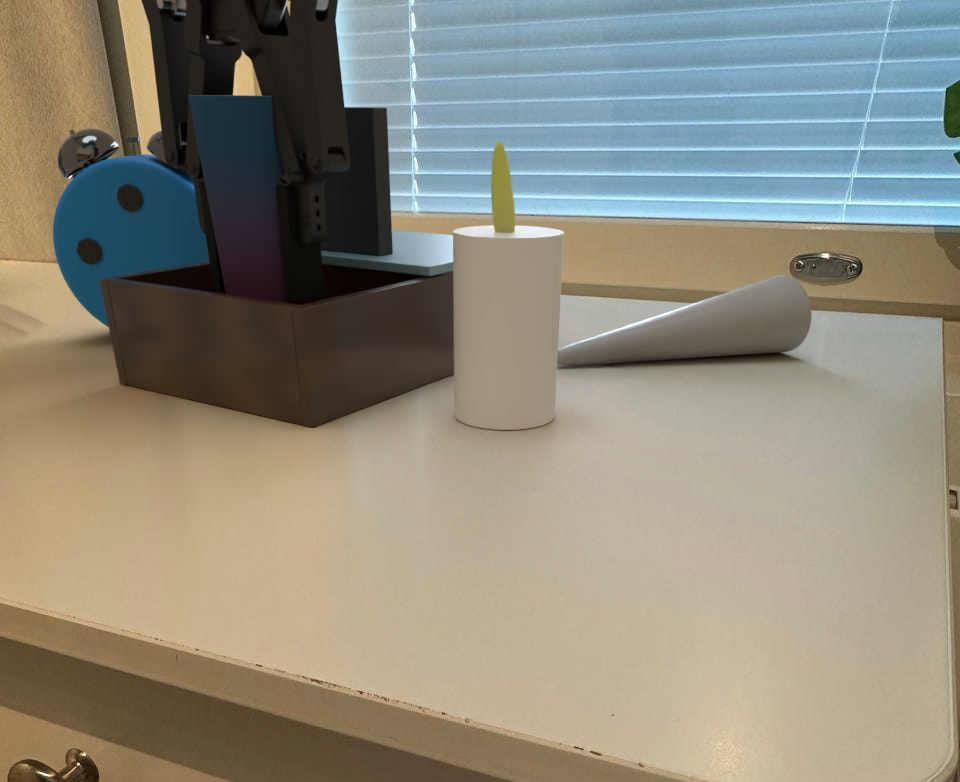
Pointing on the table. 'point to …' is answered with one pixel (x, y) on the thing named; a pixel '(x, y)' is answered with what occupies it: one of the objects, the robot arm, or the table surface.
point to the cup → (243, 191)
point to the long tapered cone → (708, 328)
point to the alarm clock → (121, 215)
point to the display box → (282, 340)
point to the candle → (506, 315)
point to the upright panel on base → (374, 209)
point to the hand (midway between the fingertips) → (268, 292)
